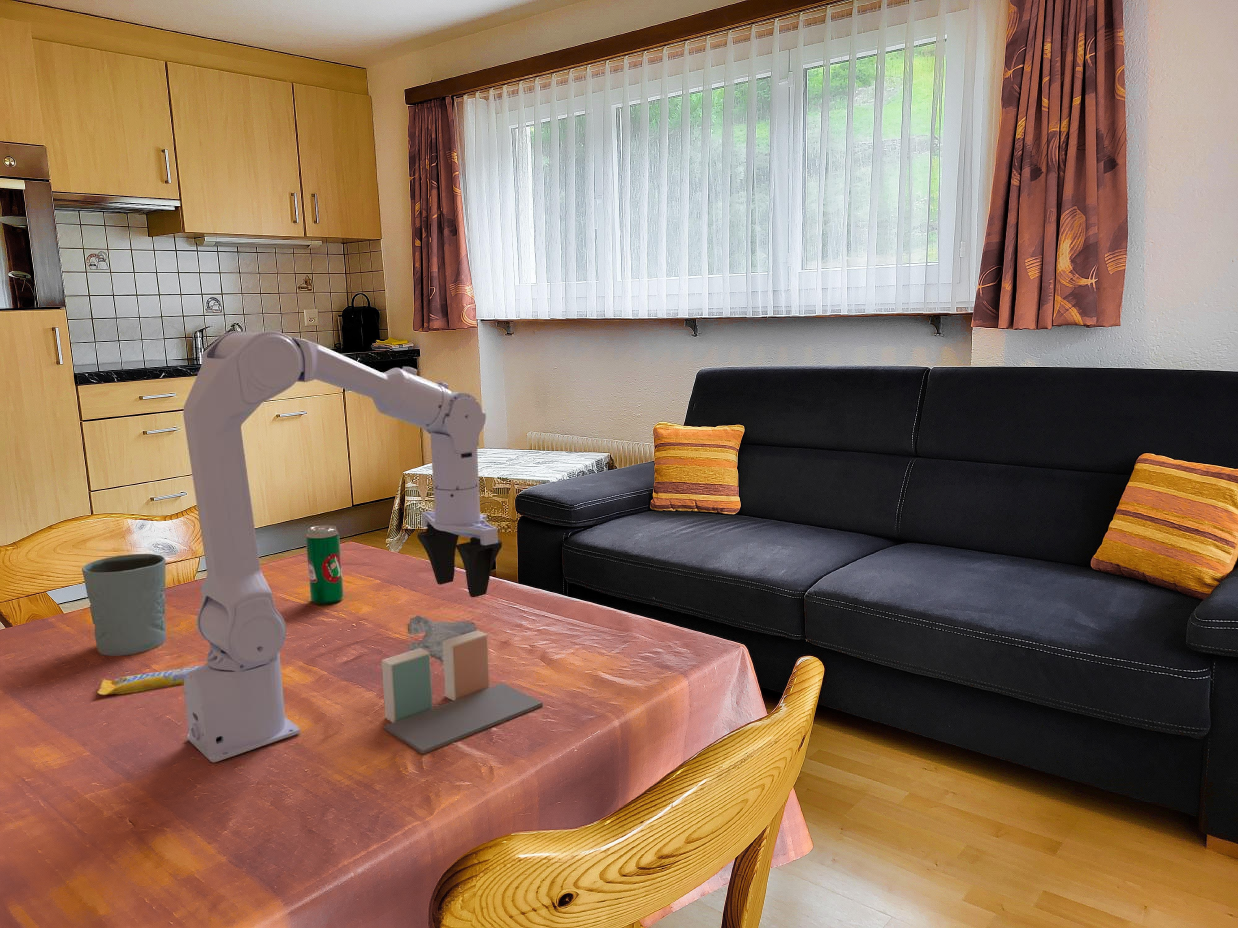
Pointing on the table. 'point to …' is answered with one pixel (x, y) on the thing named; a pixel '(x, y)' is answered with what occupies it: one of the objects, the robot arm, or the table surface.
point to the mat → (462, 717)
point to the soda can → (324, 564)
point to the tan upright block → (466, 664)
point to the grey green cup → (127, 602)
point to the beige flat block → (407, 684)
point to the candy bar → (144, 681)
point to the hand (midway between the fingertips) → (461, 588)
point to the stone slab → (436, 634)
